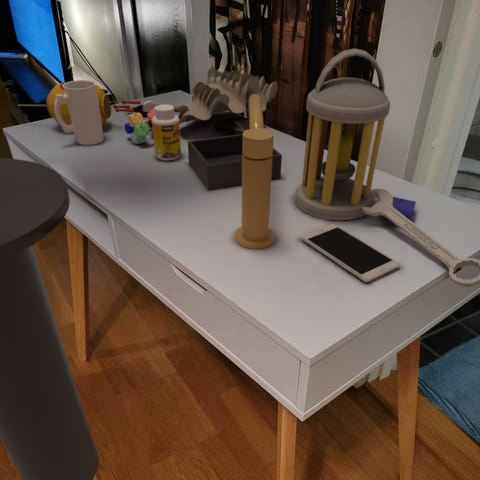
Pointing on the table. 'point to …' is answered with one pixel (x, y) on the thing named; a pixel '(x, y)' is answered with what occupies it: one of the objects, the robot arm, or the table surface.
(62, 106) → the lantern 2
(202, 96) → the seashell
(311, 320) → the table surface
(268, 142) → the spout
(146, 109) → the watch
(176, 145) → the supplement bottle
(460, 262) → the wrench
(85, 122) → the mug
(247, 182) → the faucet column
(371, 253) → the smartphone
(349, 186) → the lantern
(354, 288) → the table surface
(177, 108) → the pen
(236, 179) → the tray
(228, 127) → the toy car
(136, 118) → the dice
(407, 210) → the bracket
